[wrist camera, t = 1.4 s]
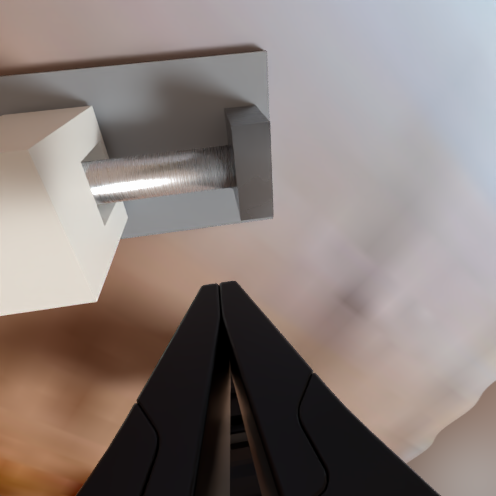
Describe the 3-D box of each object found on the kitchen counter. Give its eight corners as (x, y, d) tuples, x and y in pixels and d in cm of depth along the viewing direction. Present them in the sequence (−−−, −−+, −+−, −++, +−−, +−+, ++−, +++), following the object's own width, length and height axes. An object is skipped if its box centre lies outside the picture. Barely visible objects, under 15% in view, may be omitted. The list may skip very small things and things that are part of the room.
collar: (92, 105, 15) (27, 149, 9) (128, 217, 19) (96, 301, 13) (3, 114, 15) (-120, 166, 9) (56, 226, 18) (-10, 317, 12)
